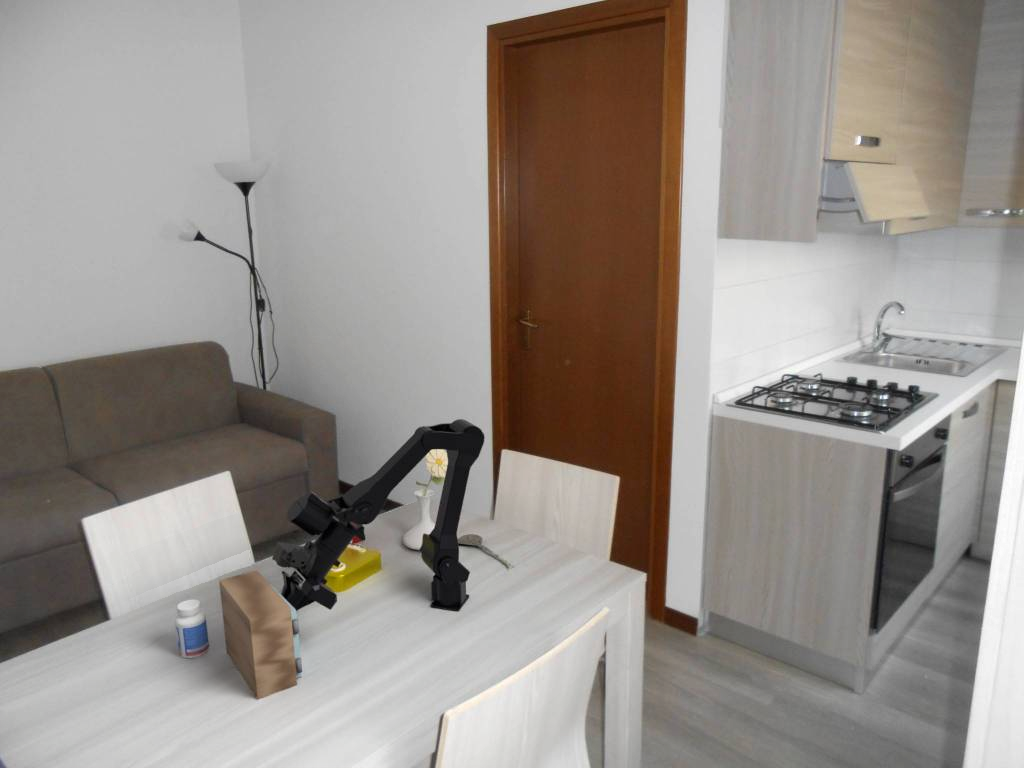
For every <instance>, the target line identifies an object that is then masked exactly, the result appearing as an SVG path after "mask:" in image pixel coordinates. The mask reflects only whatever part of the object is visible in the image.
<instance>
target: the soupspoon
mask: <svg viewBox="0 0 1024 768" xmlns="http://www.w3.org/2000/svg"><path fill="white" fill-rule="evenodd" d="M457 539H458V545H459V544H460V545H470V546H476V547H478V548H481V549H483V550H485V551H486V552H487V553H489V554H491V555H492V556H494V557H496V558H497V559H498V560H500V561H502V563H503V564H504V565H505V566H506V568H507V570H508V569H510V570H513V569H514V568H515V565H514V564H512V563H510V562H509V561H507V559H504V558H503V557H502V556H501V555H499V554H497V553H496V552H494V551H493V550H491V549H490V548H488V547H486V546H485V545H483V544H482V542H483V537H482V536H481V535H478V534H475V533H474V534H473V533H471V534H470V533H469V534H468V533H467V534H465V535H461V536H459V538H458V537H457ZM512 568H513V569H512Z"/></svg>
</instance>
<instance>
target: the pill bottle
mask: <svg viewBox="0 0 1024 768" xmlns="http://www.w3.org/2000/svg"><path fill="white" fill-rule="evenodd" d="M176 610H177V614H178V615H177V616H176V617H175V620H174V625H175V632H176V641H177V649H178V654H179V656H180V657H182V658H184V659H194V658H198V657H201V656H203V655H204V654H206V653H207V652H208V651H209V649H210V641H209V633H208V624H207V617H206V614H205V612H204V611H203V610H201V602H200V601H199V600H197V599H187V600H184V601H182V602H180V603H178V605H177V606H176Z"/></svg>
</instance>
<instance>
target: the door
mask: <svg viewBox="0 0 1024 768" xmlns="http://www.w3.org/2000/svg"><path fill="white" fill-rule="evenodd" d="M266 581H267V582H268V583H269V584H270V585H271V586H272V588H273V589H274V590H275V591H276V592H277V593H278V594H279V595H280V596H281V597H282V599H283V600H284V601H285V602H286V603H287V604H288V605H289V606H290V607H291V617H292V629H293V641H294V653H295V665H296V677H297V679H298V678H301V677H302V676H303V667H302V666H303V665H302V663H303V662H302V658H301V651H300V637H299V634H300V625H299V619H298V615H297V611H296V609H295V608H294V607H293V606H292V605H291V604H290V603H289V602H288V601H287V600H286V599H285V598H284V597H283V596H282V595H281V593H280V592H279V590H278V589H276V588H275V587H274V586H273V585H272V584H271V583H270V582H269V581H268V580H266Z"/></svg>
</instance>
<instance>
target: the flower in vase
mask: <svg viewBox="0 0 1024 768" xmlns="http://www.w3.org/2000/svg"><path fill="white" fill-rule="evenodd" d="M425 459H426V460H425V463H426V469H427V471H429V473H430V474H431V476H430V479H429V480H428V483H421V482H419V481H417V480H416V481H415V484H416V485H417V486H421V487H426V488H421V489H417V490H415V491H414V492H413V495H414V496H415V497H416V499H417V501H418V504H419V510H420V516H419V517H420V518H419V520H418V521H417V523H415V525H414V526H412V527H411V528H409V530H408V531H406V533H405V534H404V535H403V538H402V542H403V544H404V545H405V546H406V547H407V548H409V549H412V550H416V551H417V550H418V551H419V549H420V548H421V545H422V537H423V534H424V533H425V534H430V533H431V532H432V530H433V529H434V527H435V524H436V522H433V520H432V519H431V515H430V507H431V500H432V498H433V496H434V494H435V490H433V489H429V486H430V484H431V482H433V483H434V484H435V485H437V486H438V485H441V484H444V480H445V475H446V470H447V465H448V458H447V452H446V450H443V449H433V450H431V451H430V452H429V453H428V454H427V455H426V456H425Z"/></svg>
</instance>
